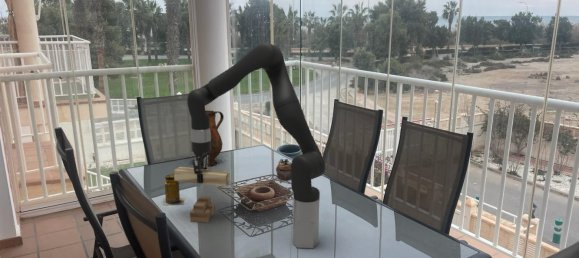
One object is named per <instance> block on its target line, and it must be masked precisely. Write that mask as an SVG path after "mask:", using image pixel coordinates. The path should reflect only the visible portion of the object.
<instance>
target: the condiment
mask: <svg viewBox="0 0 579 258" xmlns="http://www.w3.org/2000/svg"><path fill="white" fill-rule="evenodd" d="M164 178H165V181H164V190H165V191H164V192H165V193H164V195H165V201H164V203H163V205H164V206H165V205H166V206H168V205H184V204H185V201H186V197H181V196H180V181H175V178H174V174H173V173H172V174H171V173H170V174H167V175H165V177H164Z"/></svg>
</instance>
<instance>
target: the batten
mask: <svg viewBox="0 0 579 258" xmlns="http://www.w3.org/2000/svg"><path fill="white" fill-rule="evenodd" d="M198 171H199V169H198ZM173 173H174V178H175V181H179V182H181V183H182V182H183V183H191V184H199V185H200V184H201V185H210V186H218V187H227V186H228V185H229V184H230V183H231V172H230V171H224V170H215V169H203V183H197V174H195V173H194V167H187V166H186V167H185V166H179V167H177V168H175V169H174V171H173Z"/></svg>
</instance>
